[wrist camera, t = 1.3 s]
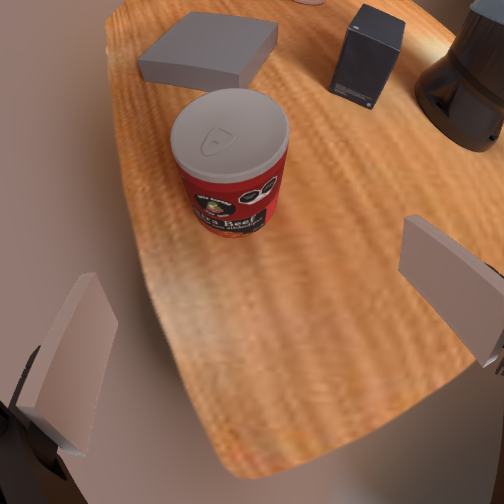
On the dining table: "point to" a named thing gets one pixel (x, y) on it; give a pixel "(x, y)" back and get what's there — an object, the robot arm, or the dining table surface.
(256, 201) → the canned food
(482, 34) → the robot arm
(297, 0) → the milk bottle
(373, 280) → the dining table surface
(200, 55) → the slate stand
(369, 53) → the small box
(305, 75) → the dining table surface
